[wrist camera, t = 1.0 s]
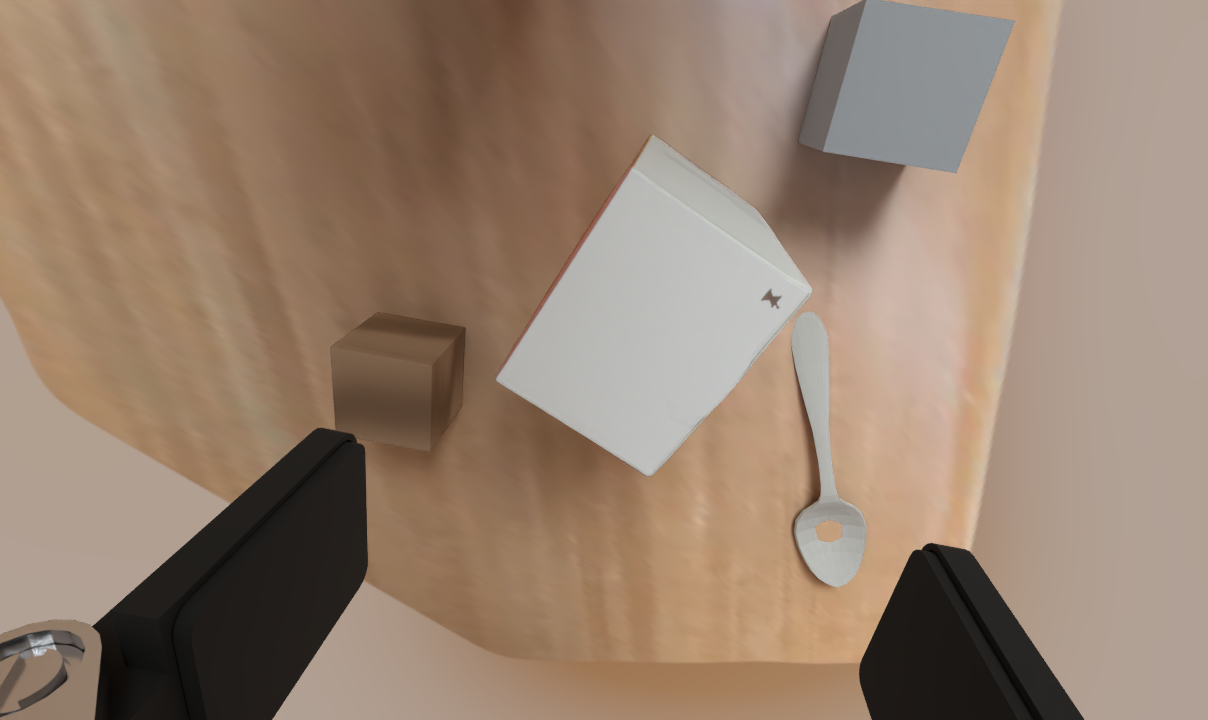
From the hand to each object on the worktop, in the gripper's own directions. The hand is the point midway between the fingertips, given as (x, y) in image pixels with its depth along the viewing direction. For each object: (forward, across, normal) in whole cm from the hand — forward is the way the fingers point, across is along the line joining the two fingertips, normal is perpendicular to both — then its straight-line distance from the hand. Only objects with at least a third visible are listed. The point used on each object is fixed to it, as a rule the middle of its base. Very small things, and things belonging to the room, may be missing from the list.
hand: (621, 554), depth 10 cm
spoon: (+22, -11, +8) cm, 26 cm away
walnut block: (+22, +12, +8) cm, 26 cm away
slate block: (+21, -8, -9) cm, 24 cm away
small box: (+22, 0, -1) cm, 22 cm away
